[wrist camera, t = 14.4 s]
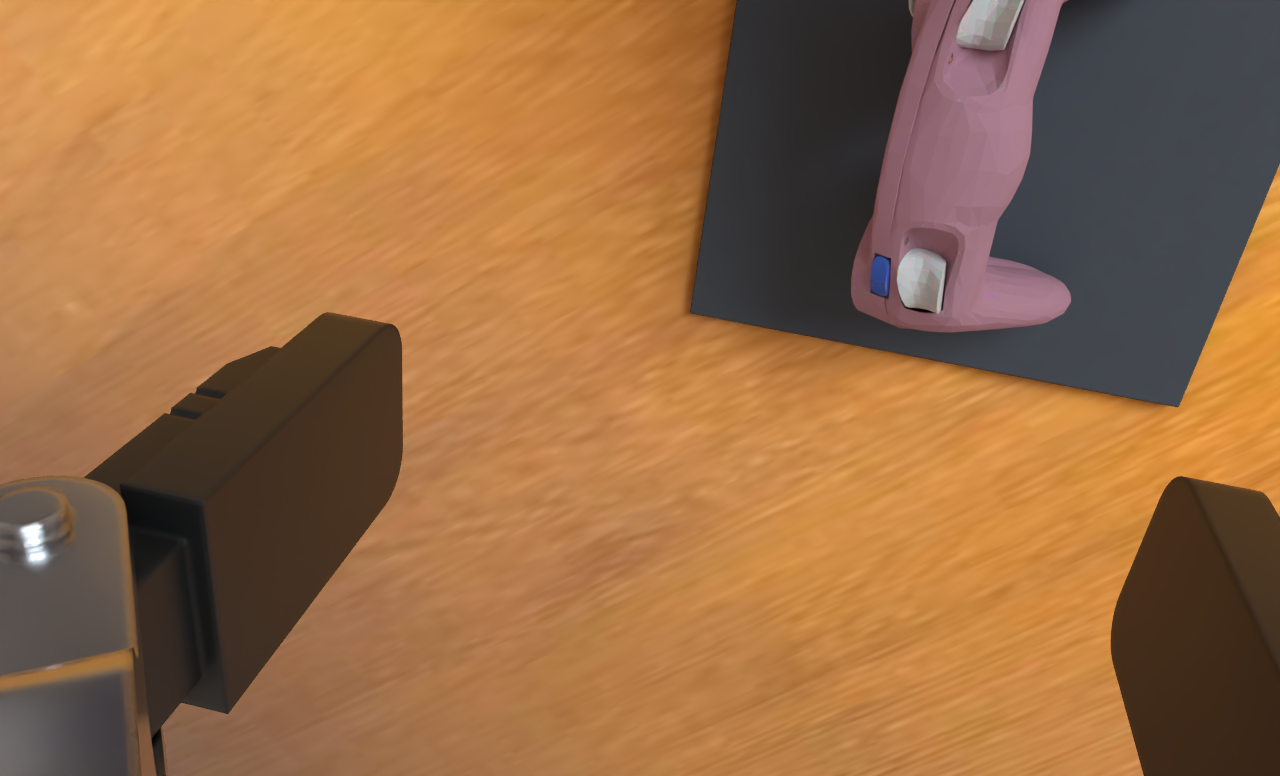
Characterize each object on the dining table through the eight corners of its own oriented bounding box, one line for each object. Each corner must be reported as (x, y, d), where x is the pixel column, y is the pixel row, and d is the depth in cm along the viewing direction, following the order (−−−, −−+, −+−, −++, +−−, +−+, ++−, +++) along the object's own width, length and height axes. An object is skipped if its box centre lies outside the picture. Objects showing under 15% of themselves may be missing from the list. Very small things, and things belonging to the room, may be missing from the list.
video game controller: (1013, -101, 26) (884, -109, 21) (1207, -74, 23) (1114, -75, 18) (918, 269, 31) (795, 335, 26) (1072, 323, 28) (969, 407, 23)
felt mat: (772, -229, 25) (770, -229, 24) (1403, -152, 23) (1411, -152, 23) (691, 308, 31) (689, 313, 31) (1175, 401, 30) (1178, 408, 29)
